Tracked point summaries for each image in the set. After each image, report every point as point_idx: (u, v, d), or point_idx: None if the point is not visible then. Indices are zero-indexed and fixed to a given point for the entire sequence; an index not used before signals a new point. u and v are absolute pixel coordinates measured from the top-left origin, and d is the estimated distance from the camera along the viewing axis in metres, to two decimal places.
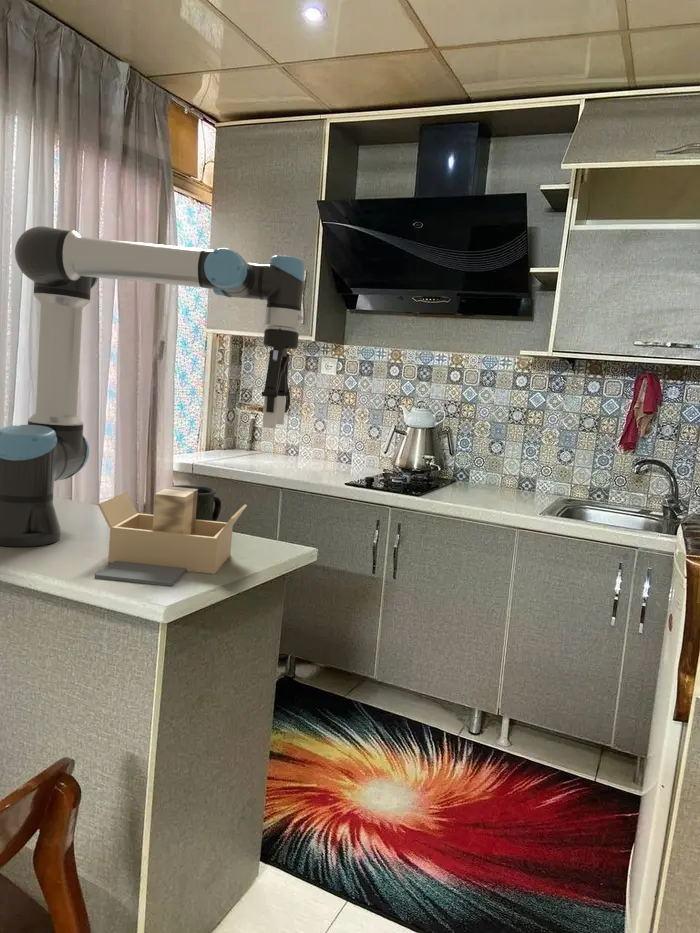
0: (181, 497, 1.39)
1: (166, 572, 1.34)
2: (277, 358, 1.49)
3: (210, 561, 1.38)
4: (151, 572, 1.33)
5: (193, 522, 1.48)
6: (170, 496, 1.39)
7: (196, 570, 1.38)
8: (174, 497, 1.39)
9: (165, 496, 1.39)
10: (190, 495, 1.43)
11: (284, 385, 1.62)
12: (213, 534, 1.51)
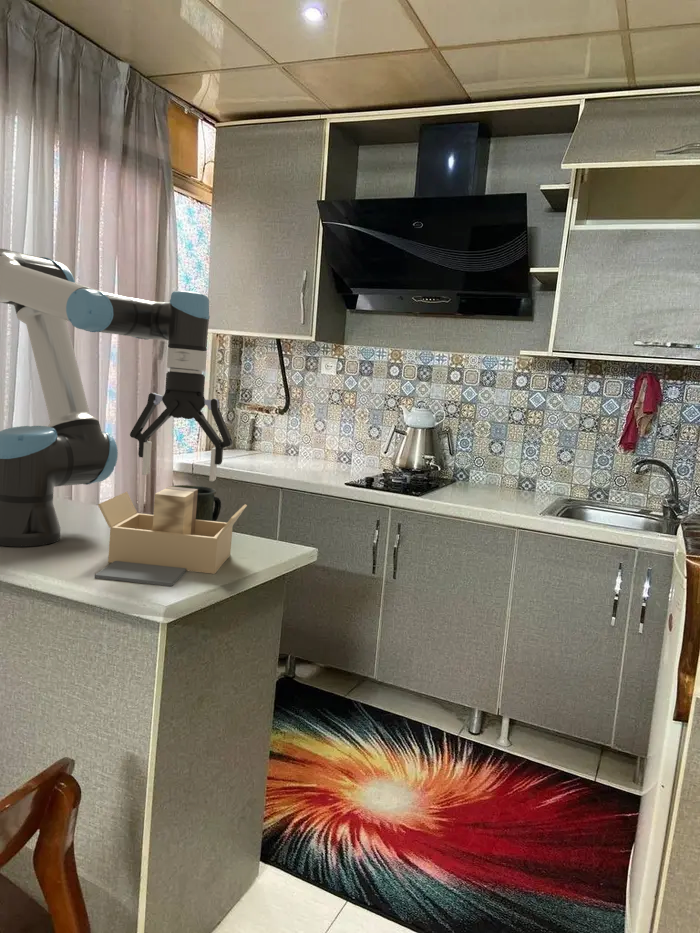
0: (181, 497, 1.39)
1: (166, 572, 1.34)
2: None
3: (210, 561, 1.38)
4: (151, 572, 1.33)
5: (193, 522, 1.48)
6: (170, 496, 1.39)
7: (196, 570, 1.38)
8: (174, 497, 1.39)
9: (165, 496, 1.39)
10: (190, 495, 1.43)
11: None
12: (213, 534, 1.51)
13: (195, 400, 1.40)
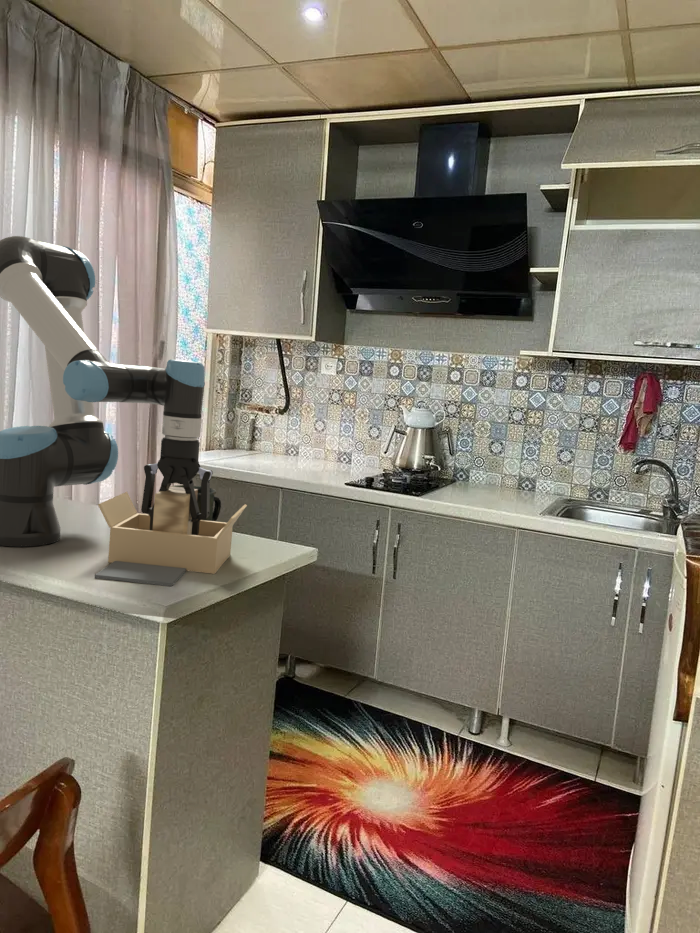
0: (181, 497, 1.39)
1: (166, 572, 1.34)
2: None
3: (210, 561, 1.38)
4: (151, 572, 1.33)
5: None
6: (170, 496, 1.39)
7: (196, 570, 1.38)
8: (174, 497, 1.39)
9: (165, 496, 1.39)
10: None
11: None
12: (213, 534, 1.51)
13: (190, 465, 1.42)
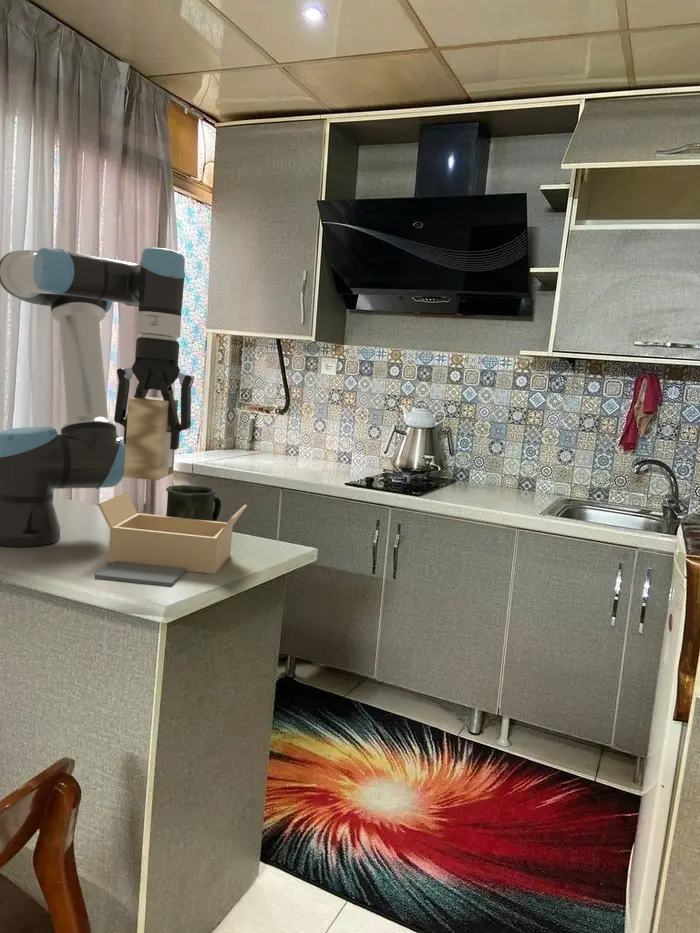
0: (158, 402, 1.24)
1: (166, 572, 1.34)
2: None
3: (210, 561, 1.38)
4: (151, 572, 1.33)
5: None
6: (146, 401, 1.24)
7: (196, 570, 1.38)
8: (150, 402, 1.24)
9: (140, 401, 1.24)
10: None
11: None
12: (213, 534, 1.51)
13: (169, 369, 1.27)
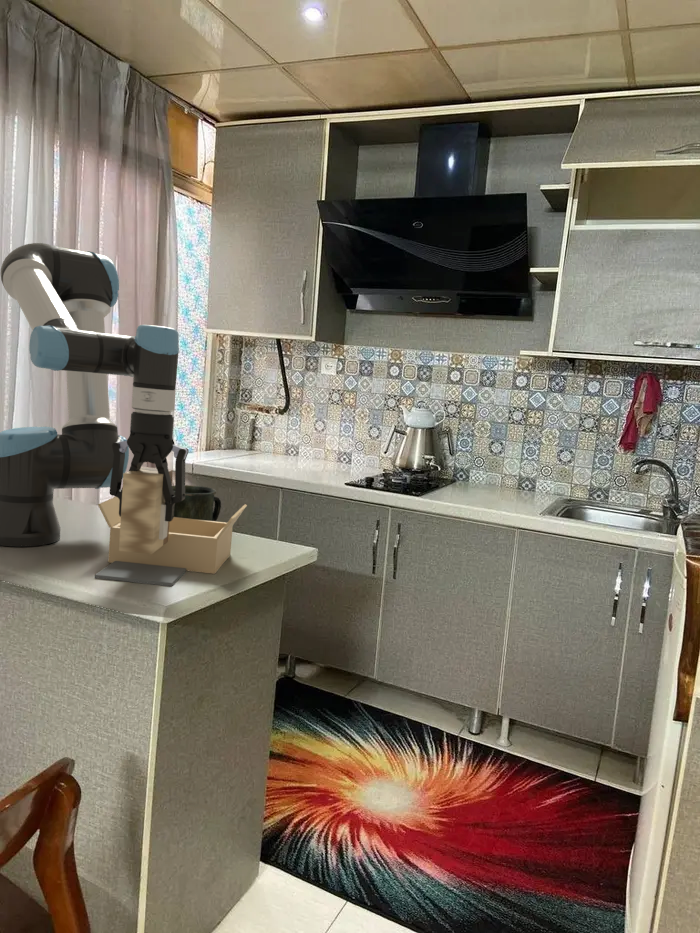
0: (152, 477, 1.25)
1: (166, 572, 1.34)
2: None
3: (210, 561, 1.38)
4: (151, 572, 1.33)
5: None
6: (140, 476, 1.25)
7: (196, 570, 1.38)
8: (145, 477, 1.25)
9: (135, 476, 1.25)
10: None
11: None
12: (213, 534, 1.51)
13: (163, 442, 1.29)
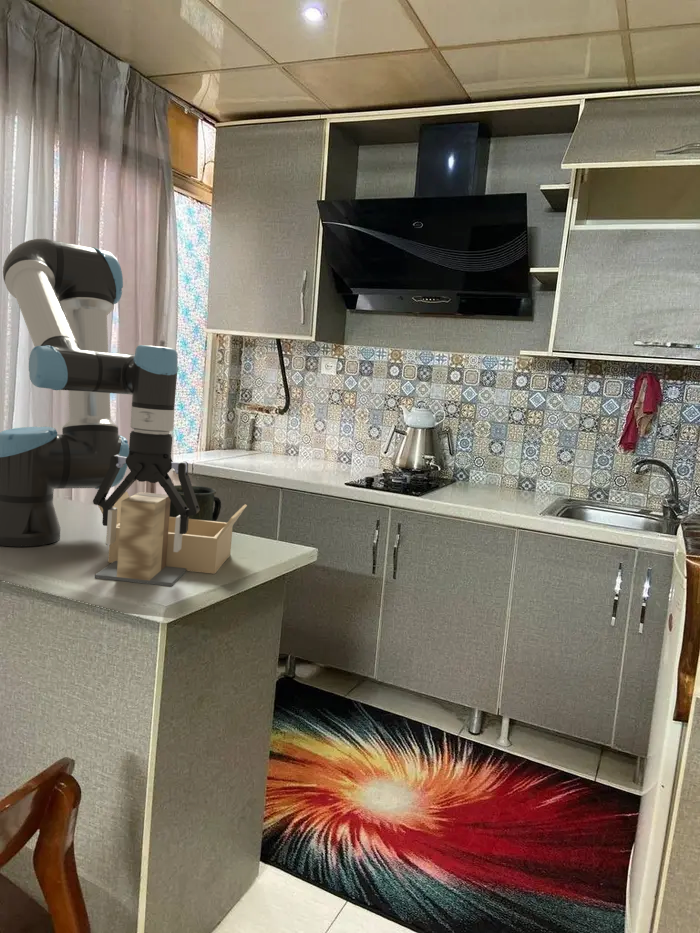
0: (150, 504, 1.26)
1: (166, 572, 1.34)
2: None
3: (210, 561, 1.38)
4: None
5: (165, 531, 1.35)
6: (138, 503, 1.26)
7: (196, 570, 1.38)
8: (142, 504, 1.26)
9: (133, 503, 1.26)
10: (161, 502, 1.30)
11: None
12: (213, 534, 1.51)
13: (161, 463, 1.29)
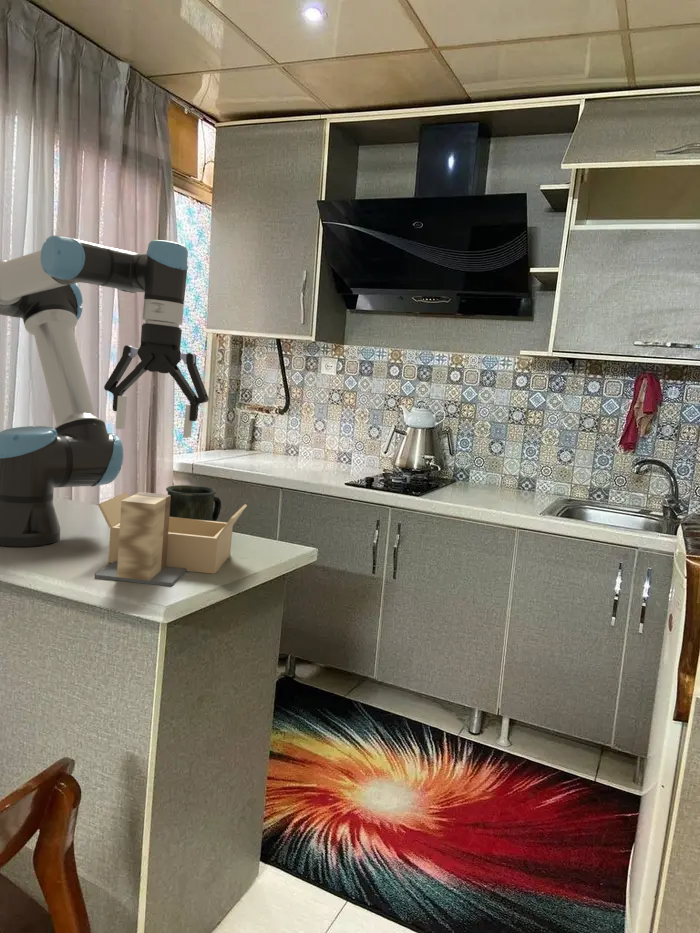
0: (150, 504, 1.26)
1: (166, 572, 1.34)
2: None
3: (210, 561, 1.38)
4: None
5: (165, 531, 1.35)
6: (138, 503, 1.26)
7: (196, 570, 1.38)
8: (142, 504, 1.26)
9: (133, 503, 1.26)
10: (161, 502, 1.30)
11: (182, 390, 1.38)
12: (213, 534, 1.51)
13: (170, 354, 1.37)
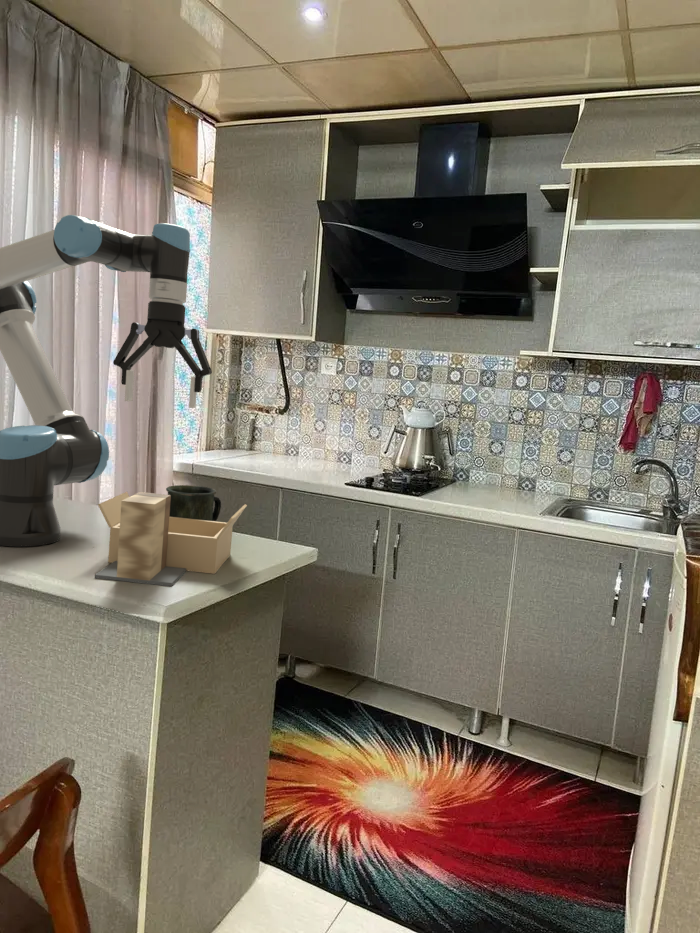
0: (150, 504, 1.26)
1: (166, 572, 1.34)
2: None
3: (210, 561, 1.38)
4: None
5: (165, 531, 1.35)
6: (138, 503, 1.26)
7: (196, 570, 1.38)
8: (142, 504, 1.26)
9: (133, 503, 1.26)
10: (161, 502, 1.30)
11: (187, 363, 1.48)
12: (213, 534, 1.51)
13: (176, 329, 1.47)
